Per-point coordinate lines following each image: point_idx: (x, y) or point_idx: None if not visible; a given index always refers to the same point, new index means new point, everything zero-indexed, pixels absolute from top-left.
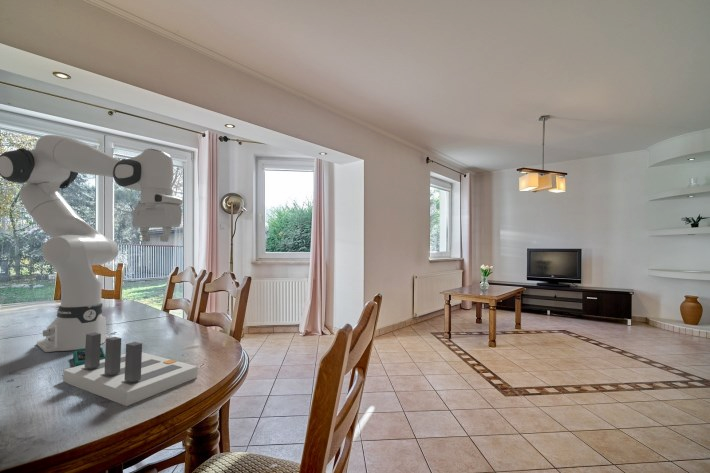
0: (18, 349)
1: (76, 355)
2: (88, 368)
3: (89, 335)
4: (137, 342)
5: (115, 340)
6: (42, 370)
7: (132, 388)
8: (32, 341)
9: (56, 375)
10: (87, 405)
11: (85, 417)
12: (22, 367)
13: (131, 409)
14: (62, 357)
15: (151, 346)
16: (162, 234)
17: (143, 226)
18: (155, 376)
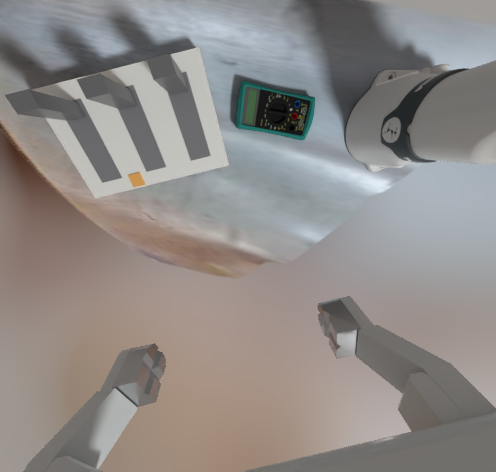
0: (445, 38)
1: (285, 93)
2: None
3: (156, 57)
4: (31, 110)
5: (81, 86)
6: (282, 43)
7: None
8: None
9: (239, 55)
10: (75, 55)
11: (29, 40)
12: (325, 19)
13: None
14: (329, 87)
15: (279, 201)
16: (99, 403)
17: (394, 446)
18: (78, 142)
